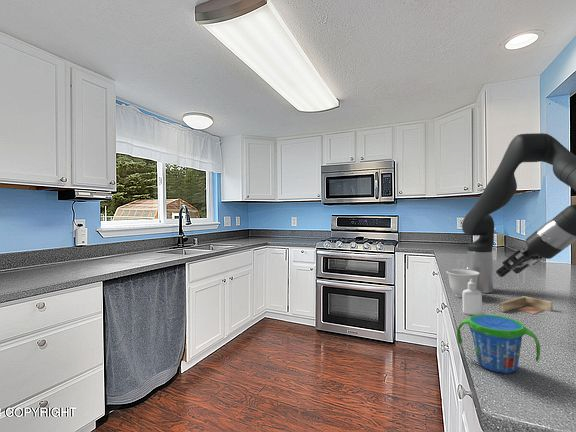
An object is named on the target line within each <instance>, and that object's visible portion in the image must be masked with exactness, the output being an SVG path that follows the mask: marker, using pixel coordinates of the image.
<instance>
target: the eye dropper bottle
mask: <svg viewBox="0 0 576 432" xmlns="http://www.w3.org/2000/svg"><path fill="white" fill-rule="evenodd" d="M461 299H462V313H463V314H464V315H468V316H474V315H483V293H481V292H480V291H478V290H476V283H474V282H473V279H470V282H468V289H466V290H464V291H463V292H462V298H461Z"/></svg>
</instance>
